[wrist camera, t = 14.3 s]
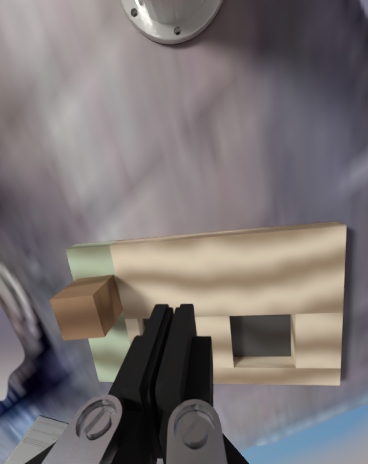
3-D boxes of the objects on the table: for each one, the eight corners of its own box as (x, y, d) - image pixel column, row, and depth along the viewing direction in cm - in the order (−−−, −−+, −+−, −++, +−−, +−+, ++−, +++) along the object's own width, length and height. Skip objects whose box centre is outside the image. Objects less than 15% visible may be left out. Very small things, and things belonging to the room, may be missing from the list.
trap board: (75, 244, 36) (65, 249, 34) (335, 221, 30) (346, 225, 28) (105, 369, 41) (99, 381, 39) (331, 371, 35) (339, 385, 33)
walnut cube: (77, 278, 35) (49, 299, 29) (113, 274, 33) (92, 295, 28) (87, 313, 36) (63, 340, 30) (123, 310, 35) (104, 337, 29)
